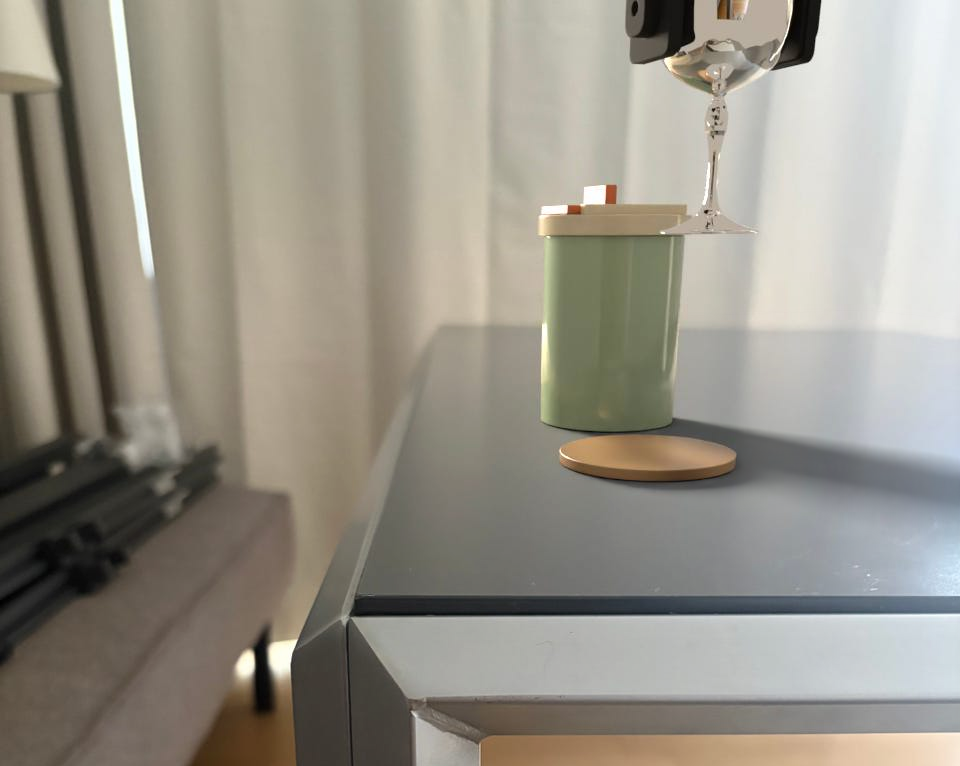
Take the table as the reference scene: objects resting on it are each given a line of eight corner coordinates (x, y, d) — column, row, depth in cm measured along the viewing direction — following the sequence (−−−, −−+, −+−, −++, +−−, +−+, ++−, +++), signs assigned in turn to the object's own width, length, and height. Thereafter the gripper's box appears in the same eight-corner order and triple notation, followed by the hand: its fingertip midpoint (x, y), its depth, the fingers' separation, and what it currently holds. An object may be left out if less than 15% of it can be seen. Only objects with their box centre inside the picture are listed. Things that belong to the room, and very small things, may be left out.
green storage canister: (634, 404, 76) (645, 207, 70) (706, 427, 67) (724, 203, 62) (513, 412, 72) (515, 206, 67) (571, 437, 64) (579, 202, 59)
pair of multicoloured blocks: (591, 215, 66) (592, 186, 66) (619, 214, 63) (620, 184, 62) (541, 214, 65) (542, 186, 64) (567, 213, 62) (568, 183, 61)
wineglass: (618, 234, 45) (631, -84, 41) (690, 233, 49) (709, -58, 44) (729, 234, 41) (757, -117, 37) (798, 232, 45) (831, -86, 40)
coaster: (677, 439, 63) (678, 430, 63) (771, 472, 54) (773, 461, 54) (532, 451, 60) (532, 441, 60) (608, 488, 51) (608, 476, 51)
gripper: (595, -663, 30) (578, 38, 36) (1031, -527, 35) (944, 59, 42) (500, -503, 36) (501, 67, 43) (881, -409, 42) (827, 82, 49)
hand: (721, 58), depth 42 cm, fingers closed on wineglass, 5 cm apart
